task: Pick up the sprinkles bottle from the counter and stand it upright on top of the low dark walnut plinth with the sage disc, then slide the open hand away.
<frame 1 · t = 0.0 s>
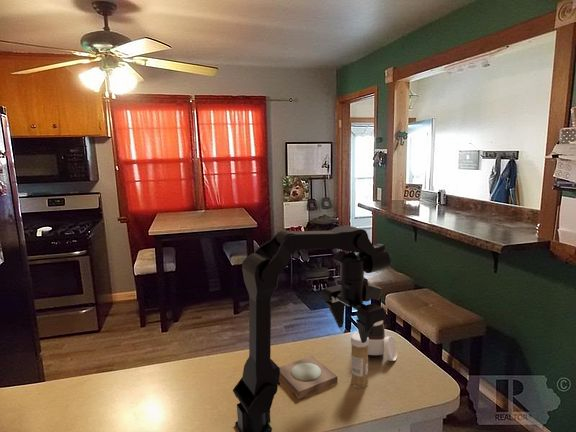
hand: (351, 334, 96), 15 cm above the kitchen counter, tool pointing down, fingers open, 9 cm apart
sprinkles bottle: (359, 383, 100), on the kitchen counter
walnut plinth: (306, 378, 102), on the kitchen counter
spread jar: (377, 354, 113), on the kitchen counter
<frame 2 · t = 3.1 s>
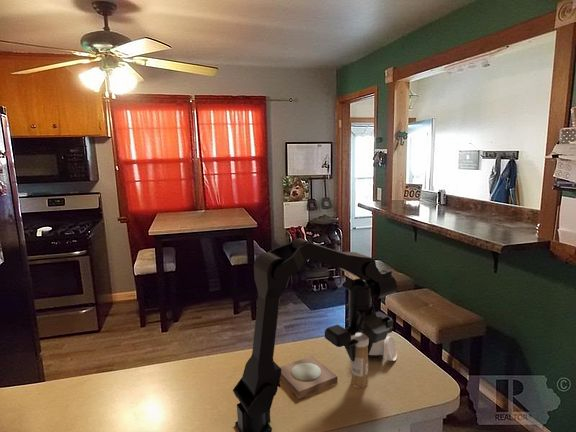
hand: (359, 358, 98), 7 cm above the kitchen counter, tool pointing down, fingers closed on sprinkles bottle, 4 cm apart
sprinkles bottle: (359, 383, 100), on the kitchen counter, touching gripper
everything else where it was.
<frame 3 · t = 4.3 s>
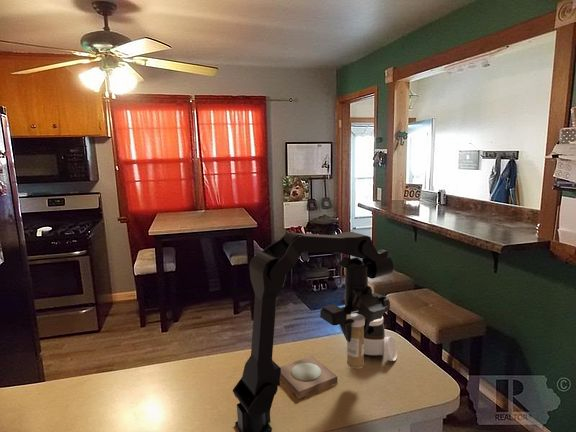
hand: (355, 338, 97), 13 cm above the kitchen counter, tool pointing down, fingers closed on sprinkles bottle, 4 cm apart
sprinkles bottle: (355, 364, 99), point 5 cm above the kitchen counter, touching gripper
everything else where it was.
when the fingers open (11 cm above the kitchen counter, at t = 5.9 s): sprinkles bottle drops 1 cm, resting on walnut plinth.
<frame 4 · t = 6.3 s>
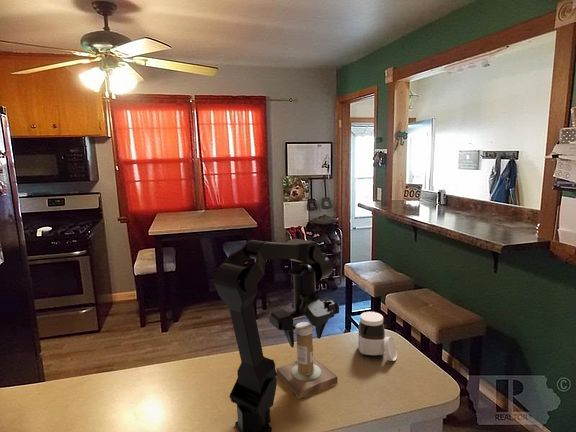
hand: (305, 342, 100), 11 cm above the kitchen counter, tool pointing down, fingers open, 8 cm apart
sprinkles bottle: (305, 371, 102), point 2 cm above the kitchen counter, touching walnut plinth
everything else where it was.
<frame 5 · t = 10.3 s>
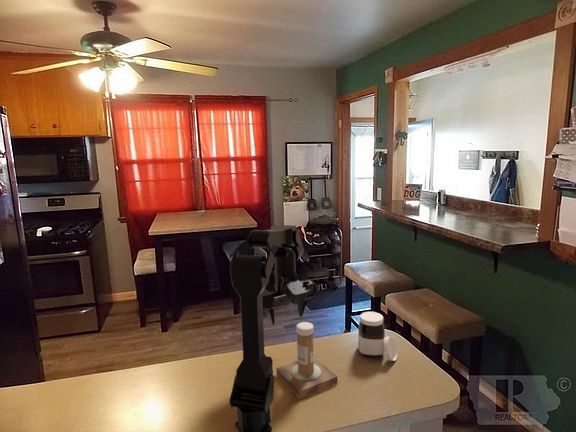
hand: (286, 320, 108), 13 cm above the kitchen counter, tool pointing down, fingers open, 9 cm apart
nothing on the kitchen counter moved.
at the end: sprinkles bottle inside the target area on the walnut plinth (0.1 cm from its centre), point 2.1 cm above the walnut plinth's base; sprinkles bottle tilted 0°; the gripper is holding nothing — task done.
